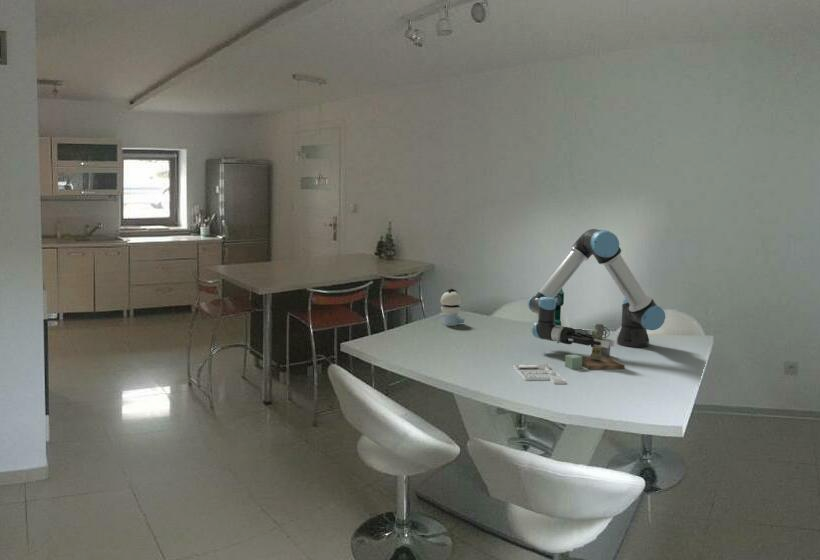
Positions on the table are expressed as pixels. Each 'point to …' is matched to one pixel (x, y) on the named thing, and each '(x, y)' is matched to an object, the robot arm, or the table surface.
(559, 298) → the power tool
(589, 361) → the walnut board
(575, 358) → the green block
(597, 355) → the grenade
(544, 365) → the floor plan model
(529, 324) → the table surface
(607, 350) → the grey rounded block
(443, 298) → the toy
